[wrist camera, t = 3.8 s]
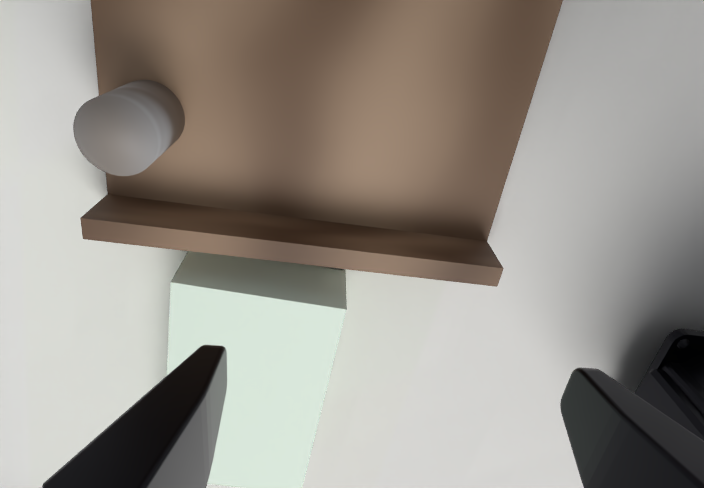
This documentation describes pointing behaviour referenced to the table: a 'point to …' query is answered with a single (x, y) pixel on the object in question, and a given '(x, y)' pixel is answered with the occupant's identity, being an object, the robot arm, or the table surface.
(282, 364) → the pale green rectangular block
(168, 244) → the boss board
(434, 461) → the table surface
